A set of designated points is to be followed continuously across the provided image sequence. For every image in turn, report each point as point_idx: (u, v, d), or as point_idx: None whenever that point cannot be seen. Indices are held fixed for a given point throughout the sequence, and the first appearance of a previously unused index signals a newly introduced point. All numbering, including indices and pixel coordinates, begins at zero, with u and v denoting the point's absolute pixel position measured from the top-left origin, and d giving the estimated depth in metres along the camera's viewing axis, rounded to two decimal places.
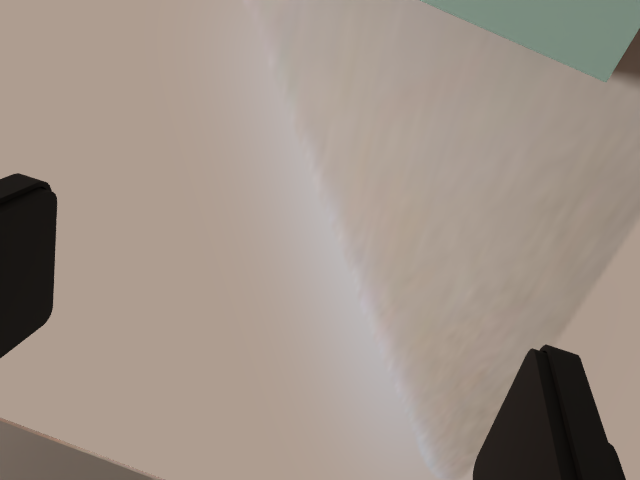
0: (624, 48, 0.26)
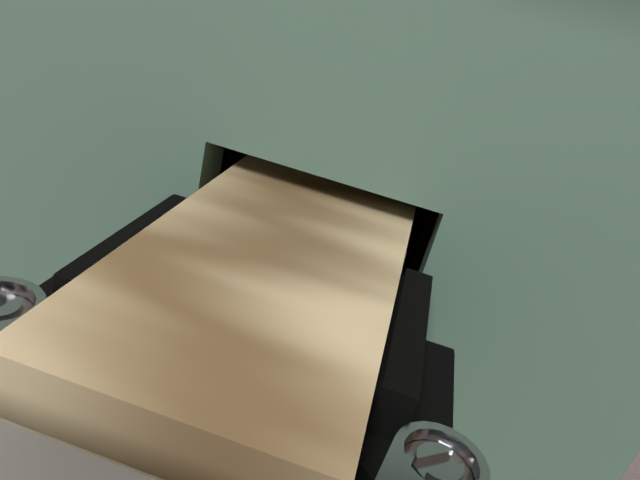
0: None
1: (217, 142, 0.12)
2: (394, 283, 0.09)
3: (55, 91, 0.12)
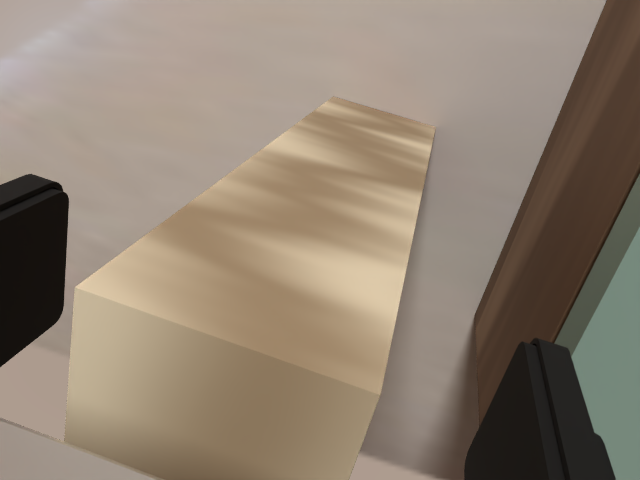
0: None
1: None
2: (406, 252, 0.11)
3: None
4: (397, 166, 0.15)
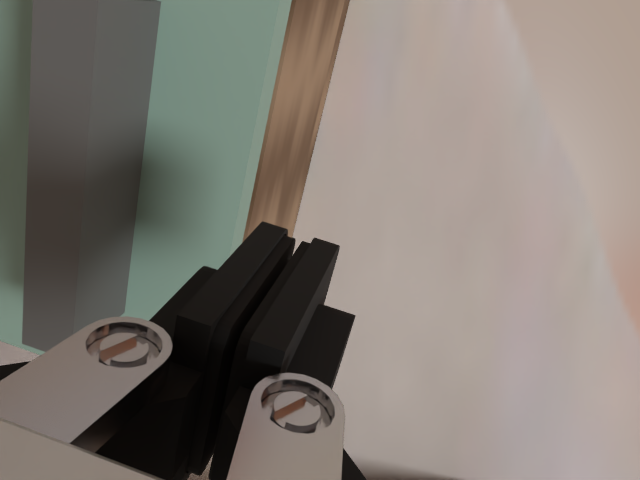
0: None
1: None
2: None
3: None
4: None
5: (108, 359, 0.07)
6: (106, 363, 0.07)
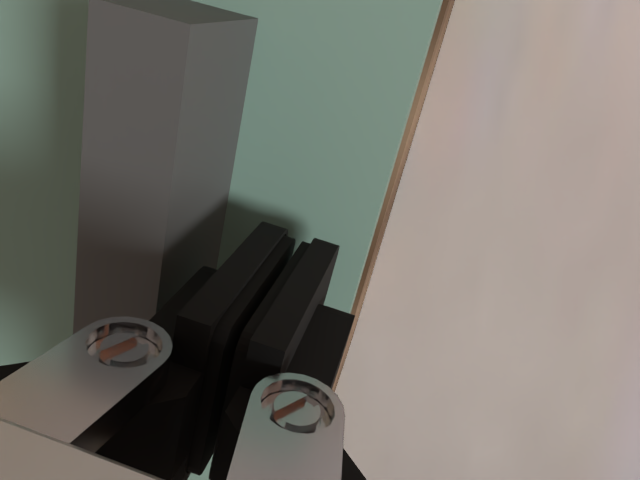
0: None
1: None
2: None
3: None
4: None
5: (108, 359, 0.07)
6: (106, 363, 0.07)
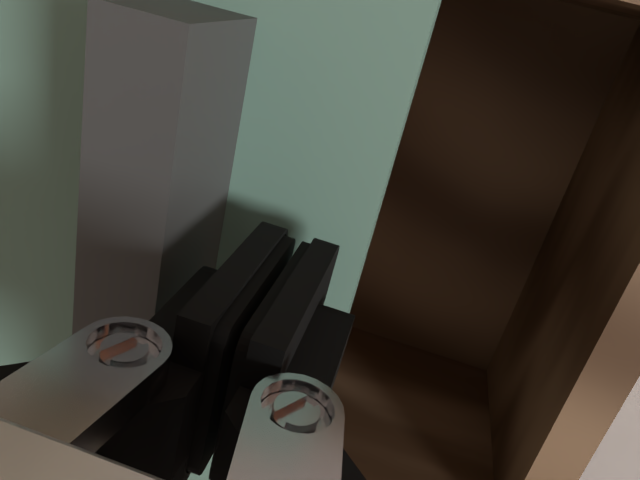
0: None
1: None
2: None
3: None
4: None
5: (108, 359, 0.07)
6: (106, 363, 0.07)
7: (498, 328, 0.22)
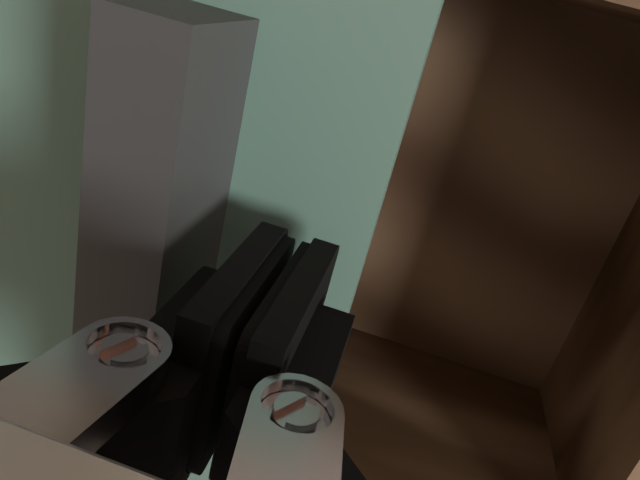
0: None
1: None
2: None
3: None
4: None
5: (108, 359, 0.07)
6: (106, 363, 0.07)
7: (553, 348, 0.22)
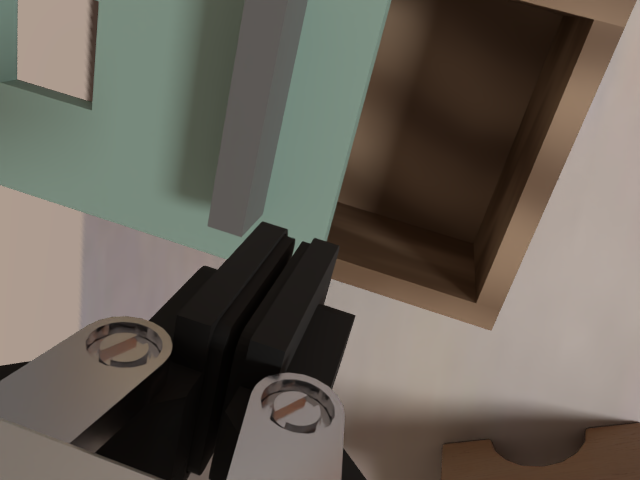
0: None
1: (99, 7, 0.26)
2: None
3: None
4: None
5: (108, 359, 0.07)
6: (106, 363, 0.07)
7: (480, 213, 0.35)
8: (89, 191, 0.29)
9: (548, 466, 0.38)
